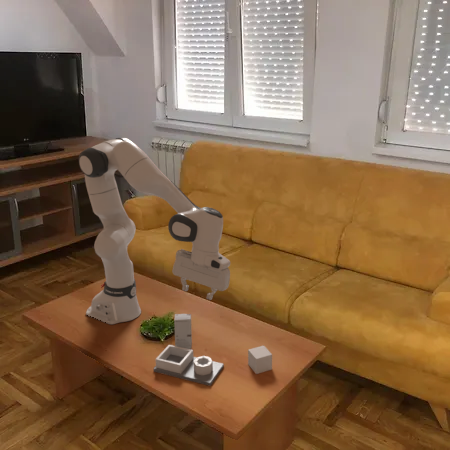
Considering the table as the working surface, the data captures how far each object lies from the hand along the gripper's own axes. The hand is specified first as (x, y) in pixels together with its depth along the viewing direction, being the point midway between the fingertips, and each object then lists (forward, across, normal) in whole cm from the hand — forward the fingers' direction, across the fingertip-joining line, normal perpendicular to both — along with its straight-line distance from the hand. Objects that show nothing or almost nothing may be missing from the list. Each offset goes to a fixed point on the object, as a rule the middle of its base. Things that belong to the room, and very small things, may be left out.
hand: (196, 294), depth 174 cm
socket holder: (+24, +4, -5) cm, 25 cm away
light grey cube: (+20, +26, +5) cm, 33 cm away
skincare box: (+24, -4, +7) cm, 25 cm away
